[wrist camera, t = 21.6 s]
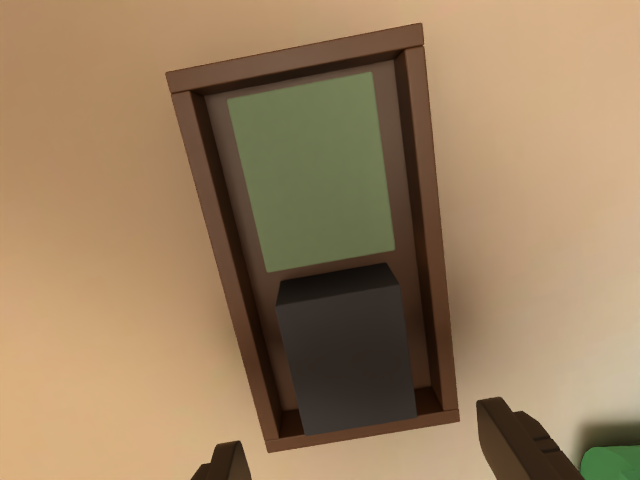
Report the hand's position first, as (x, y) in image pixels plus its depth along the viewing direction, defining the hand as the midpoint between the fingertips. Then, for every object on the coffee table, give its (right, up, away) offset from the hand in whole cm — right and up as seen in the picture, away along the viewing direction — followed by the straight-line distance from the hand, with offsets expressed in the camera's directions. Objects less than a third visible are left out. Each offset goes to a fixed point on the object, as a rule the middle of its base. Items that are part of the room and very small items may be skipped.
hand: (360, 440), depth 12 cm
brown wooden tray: (-1, +6, +7) cm, 9 cm away
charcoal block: (0, +2, +7) cm, 8 cm away
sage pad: (-2, +10, +5) cm, 11 cm away
